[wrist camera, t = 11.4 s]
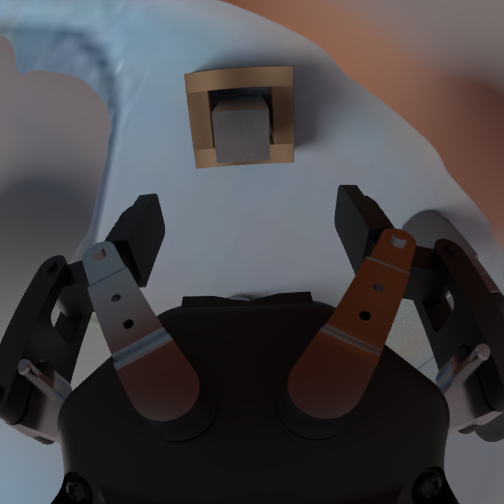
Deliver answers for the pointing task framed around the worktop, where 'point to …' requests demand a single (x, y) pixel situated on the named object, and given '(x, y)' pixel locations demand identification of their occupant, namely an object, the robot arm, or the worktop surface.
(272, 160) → the wooden square frame
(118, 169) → the worktop surface
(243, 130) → the peg
